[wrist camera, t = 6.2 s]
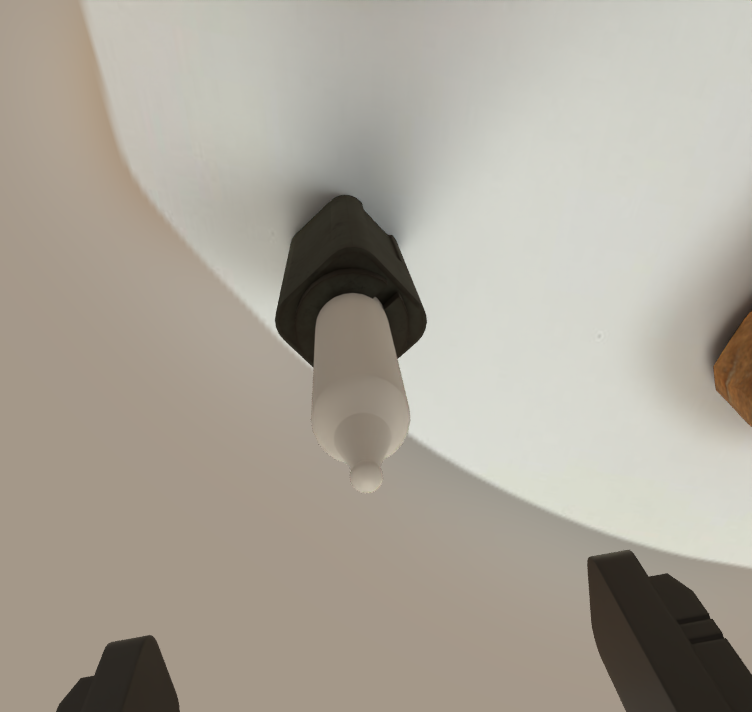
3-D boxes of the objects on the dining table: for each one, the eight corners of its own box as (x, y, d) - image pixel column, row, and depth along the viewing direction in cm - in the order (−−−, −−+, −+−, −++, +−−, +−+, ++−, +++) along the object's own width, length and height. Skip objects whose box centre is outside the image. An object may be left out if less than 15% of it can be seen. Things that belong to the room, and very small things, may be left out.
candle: (406, 251, 41) (510, 485, 18) (343, 309, 42) (362, 602, 19) (345, 185, 39) (372, 349, 16) (281, 248, 40) (219, 486, 17)
